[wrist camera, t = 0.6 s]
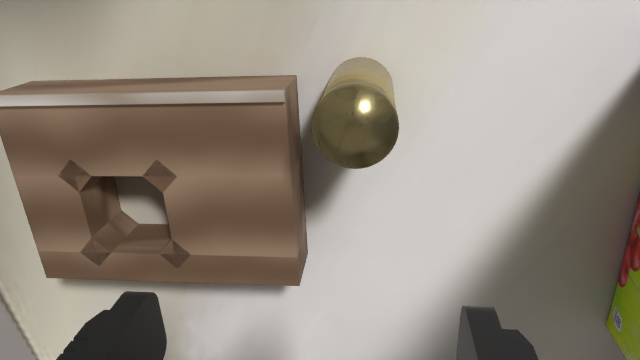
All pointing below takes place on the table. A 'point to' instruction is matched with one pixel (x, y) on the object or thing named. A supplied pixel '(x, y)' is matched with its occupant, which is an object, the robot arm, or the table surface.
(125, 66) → the table surface
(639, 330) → the snack box
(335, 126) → the brass cylinder plug
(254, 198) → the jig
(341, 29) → the table surface
